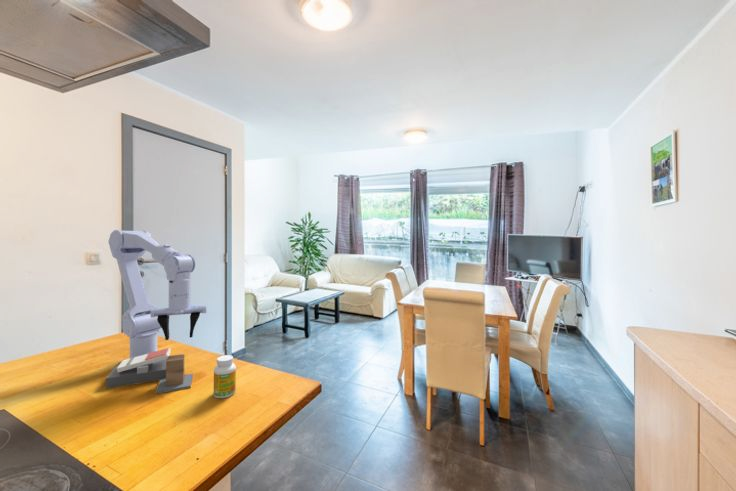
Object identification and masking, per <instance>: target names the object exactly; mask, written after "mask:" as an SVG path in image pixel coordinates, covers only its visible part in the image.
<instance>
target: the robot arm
mask: <svg viewBox="0 0 736 491" xmlns="http://www.w3.org/2000/svg"><path fill="white" fill-rule="evenodd" d="M108 244H109V245H108V246H109V249H110V253H111V255H112V257H113V258H114V259H116V261H117V262H116V263H117V266H118V269H119V273H120V277H121V281H122V284H123V289H124V291H125V295H126V299H127V302H128V305H129V308H128V309H127V310H126V311H124V313H123V314H122V316H121V320H122V323H121V324H122V325H121V326H122V327H121V328H122V332H123V334H124V335H126V336H127V337H128V338H129V359H130V358H133V357H137V356H141V355H145V354H149V353H151V352H155V351H158V333H159V332H160V330H162V332H163V334H164V340H165V341H169V339H170V326H169V325H170V316H178V315H189V322H190V323H189V324H190V326H189V327H190V328H189V338H193V336H194V330H195V326H196V324H197V322H198V320H199V318H200V316H201V314H206V313H207V305H191V287H192V286H191V283H192V282H191V276H192V275H191V273H193V272H194V270H195V268H196V261H195V258H194V257H193V256H192V255H191V254H182V253H181V252H180V251H178V250H176V249H174V248H173V247H172V245H170V244H167V243H166V244H160V243H159V242H157V241H156V240H155V239H154V238H152V234H151V232H148V231H147V230H119V229H114V230H112V232H111V233H110V235H109V239H108ZM146 252H148V253H150V254H151V257H152V259H153V260H154V261H156V262H157V263H159V264H160V265H162V266H163V268H164V271H165V276H166V279H167V281H168V307H166V308H164V307H163V308H158V306H157V305H154V304H153V303H151V302H149V299H148V295H147V293H146V291H147V290H146V288H145V285H144V281H143V276H142V274H141V270H140V267H139V264H138V258H140V257H143V256H144V254H145V253H146Z"/></svg>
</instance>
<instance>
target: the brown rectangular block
mask: <svg viewBox="0 0 736 491" xmlns="http://www.w3.org/2000/svg"><path fill="white" fill-rule="evenodd" d="M184 375H185V353H182V354H175V355H169V356H168V358H167V361H166V387H167V386H172V385H178V384H183V382H184Z"/></svg>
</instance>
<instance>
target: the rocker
mask: <svg viewBox="0 0 736 491" xmlns="http://www.w3.org/2000/svg"><path fill="white" fill-rule="evenodd" d="M171 352H172V350H171V347H167V348H162V349H159V350H157V351H155V352H151V353H149V354H145V355H141V356H137V357H133V358H130V357H129V358H127V359H123V360H122V361H121V362H120V364H118V365H119V366H118V368H117V372H122V371H125V370H129V369H132V368H136V367H139V366H143V365H147V364H150V363H154V362H157V361H161V360H164V359H167V358H168V356H171Z"/></svg>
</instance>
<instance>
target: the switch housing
mask: <svg viewBox="0 0 736 491" xmlns="http://www.w3.org/2000/svg"><path fill="white" fill-rule="evenodd" d="M166 361H167V359H164V360H161V361H157V362H154V363H150V364H147V365H143V366H139V367H136V368H132V369H129V370H125V371H122V372H117V368H118V366H119V365H120V364H116V365H115V367H114V368H112V370H111V371H110V373H109V374H108V375H107V377H106V379H105V380H106V381H105V387H106V388H105V389H111V388H117V387H125V386H129V385H130V386H131V385H136V384H137V385H138V384H142V383H148V382H154V381H156V382H157V381H160V380H161V378H166Z"/></svg>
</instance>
